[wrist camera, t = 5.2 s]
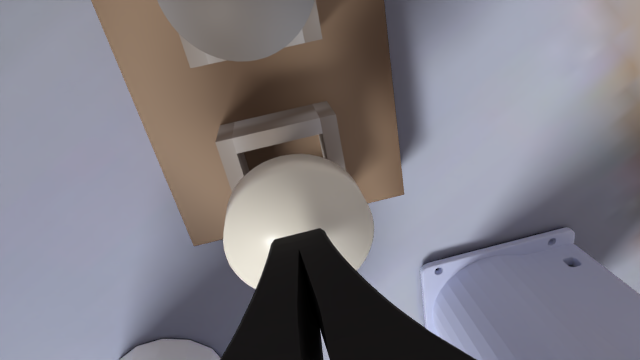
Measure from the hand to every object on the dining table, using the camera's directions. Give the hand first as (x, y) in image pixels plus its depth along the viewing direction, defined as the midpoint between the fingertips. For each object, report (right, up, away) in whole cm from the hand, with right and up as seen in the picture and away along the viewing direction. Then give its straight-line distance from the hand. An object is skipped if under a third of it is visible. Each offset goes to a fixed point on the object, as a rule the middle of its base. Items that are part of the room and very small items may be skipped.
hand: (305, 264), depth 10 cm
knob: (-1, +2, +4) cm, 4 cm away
